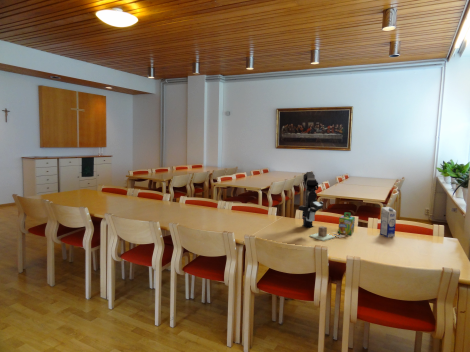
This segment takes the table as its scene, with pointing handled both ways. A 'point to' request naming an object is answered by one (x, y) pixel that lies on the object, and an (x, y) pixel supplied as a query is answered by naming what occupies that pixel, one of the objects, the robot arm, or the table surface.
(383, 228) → the milk carton
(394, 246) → the table surface
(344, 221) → the chalk box
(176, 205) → the table surface
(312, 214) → the gray block
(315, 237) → the plate
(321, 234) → the walnut block
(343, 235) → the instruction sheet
